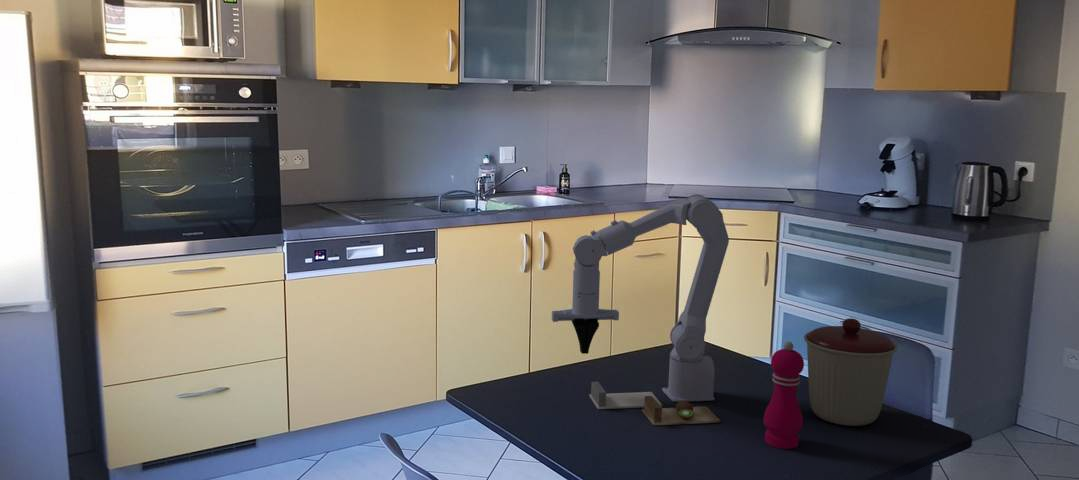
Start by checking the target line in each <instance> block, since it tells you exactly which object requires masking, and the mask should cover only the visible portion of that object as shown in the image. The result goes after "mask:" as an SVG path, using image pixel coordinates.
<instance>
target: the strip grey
mask: <svg viewBox="0 0 1079 480" xmlns="http://www.w3.org/2000/svg"><path fill="white" fill-rule="evenodd" d="M590 384H591V385H590V387H591V388H590V394H588V395H589V398H590V400H591V401H592V402H593V404H594V406H595V407H596V408H597V410H609V409H614V410H615V409H636V408H644V401H645V396H652V397H653V398H654V399H655V400H656V401H657V403H658V404H659V405H660V406H661V407H662V408H663V404H662V402H661V401H660V400H659V399H658V398H657V397H656V396H655V394H654V393H653V392H652V391H644V392H643V391H638V392H615V393H612V392H611V393H607V391H606V390H605V389H604V387H603V386H602V385H601V384H600V382H599V381H591V383H590Z"/></svg>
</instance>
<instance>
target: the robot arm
mask: <svg viewBox="0 0 1079 480" xmlns="http://www.w3.org/2000/svg"><path fill="white" fill-rule="evenodd" d="M687 222H689V224H691V225H692V226H693V227H694V228H695V229H696V231H697V233H698V234H699V236H700V237H701V239H702V241H703V245H702V246H701V247H702V248H701V251H700V255H699V258H698V262H697V265H696V268H695V273H694V274H693V275H694V276H693V278H692V282H691V285H690V288H689V292H688V295H687V299H686V302H685V306H684V309H683V311H682V312H681V314H680V315H679V317H678V321H677V322H676V323H675V325H674V326H673V327H672V328H671V330H670V332H669V339H670V341H671V344H672V345H673V348H672V350H671V351H670V352H669V366H668V367H669V368H668V369H669V370H668V386H667V387H662V388H661V391H662V392H663V393H664V394H665V395H666V396H667V398H669V400H670V401H672V403H678V402H680V401H686V402H704V401H705V402H706V401H708V402H709V401H711V402H712V401H715V397H714V387H715V373H716V371H715V363H714V360H713V358H712V357H711V356H709V355H704V353H705V350H706V342H705V335H706V332H707V331H706V330H707V316H708V314H709V309H710V306H711V303H712V299H713V298H714V297H713V296H714V293H715V289H716V286H717V283H718V280H719V276H720V274H721V269H722V267H723V263H724V260H725V256H726V253H727V249H728V247H729V243H730V237H729V235H728V231H727V227H726V225H725V221H724V214H723V212H722V211H721V209H719V208H718V206H717V204H715V203H714V202H713V201H712V200H710V199H708V198H707V197H706V196H704V195H702V194H698V193H697V194H691V195H689V196H688V197H686V198H680V199H677V200H675V201H672V202H671V203H668V204H666V205H664V206H662V207H659V208H658V209H656V210H654V211H652V212H650V213H648V214H646V215H644V216H642V217H639V218H638V219H636V220H633V221H631V222H628V221H625V220H619V221H617V220H616V219H614V220H612V221H611V222H610V225H608V226H606V227H603V228H602V229H599V230H597V231H595V230H594V229H593V230H591V231H590V232H589V233H590V234H589V235H587V234H585V235H580V236H579V237H578V238H577V239H576V241H575V242H574V244H573V247H572V250H573V255H574V257H575V258H574V262H573V268H574V269H573V272H572V273H573V274H572V275H573V279H572V306H571V307H572V308H571V309H570V308H569V309H562V310H551V321H552V322H553V323H556V322H557V323H558V322H567V321H568V322H569V321H571V323H572V325H573V328H574V330H575V333H576V335H577V339H578V346H579V352H580V353H581V354H583V355H585V354H589V351H590V347H591V343H592V341H593V338H594V336H595V334H596V332H597V331H598V329H599V327H600V322H599V321H602V320H605V321H606V320H607V321H608V320H609V321H611V320H613V321H619V320H620V319H619V318H620V311H619V310H617V309H606V308H605V309H604V308H600V305H599V304H600V284H601V283H600V281H601V271H600V261H601V259H602V257H608V256H610V255H614V253H617V252H619V251H622V250H624V249H626V248H628V247H630V246H632V245H634V243H635V241H636V238H637V237H638V236H642V235H644V234H646V233H650V232H651V231H655V230H656V229H659V228H662V227H664V226H667V225H669V224H677V225H682V226H687V224H688V223H687Z"/></svg>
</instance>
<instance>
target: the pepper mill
mask: <svg viewBox="0 0 1079 480" xmlns="http://www.w3.org/2000/svg"><path fill="white" fill-rule="evenodd" d="M770 367H771V369H772V371H774V372H773V373H772V378H771V380H772V382H773V384H774V388H773V394H772V396H771V399H770V401H769V403H768V405H767V406H766V409H765V411H764V414H763V424H764V426H765V427H766V429H767V430H766V431H765V433H764V442H765V443H766V444H767V445H769V446H771V447H773V448H777V449H781V450H790V449H796V448H797V447H798V446H799V443H800V435H799V434H798V433H799V432H800V431H801V430H802V429H803V425H804V421H803V420H804V419H803V413H802V411H801V408H800V405H799V401H798V397H797V396H798V395H797V390H798V385H800V384H801V381H800V380H801V376H800V374H801V373H802V372H803V370H804V367H805V361H804V357H803V356H802V354H800V353H799V352H798V351H796V350H794V344H793V343H792V342H791V341H786V342H785V343H784V344H783V348H782V349H778V350H777V351H775V352H774V353H773V354H772V356H771V358H770Z"/></svg>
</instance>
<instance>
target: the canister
mask: <svg viewBox="0 0 1079 480" xmlns="http://www.w3.org/2000/svg"><path fill="white" fill-rule="evenodd" d="M841 324H842V325H829V326H828V325H827V326H821V327H817V328H815V329H813V330H811V331H809V332H806V333H805V334H804V336H803V339H804V341H805V342H806V352H807V378H808V379H807V380H808V393H809V395H808V396H809V404H810V408H811V410H812V412H813V413H814V414H815V415H816V416H817V417H818V418H820V419H821V420H823V421H826V422H829V423H832V424H835V425H841V426H849V427H857V426H859V427H861V426H865V425H866V426H867V425H869V424H872V423H873V422H875V421H876V420H877V419H878V417H879V416H880V413H881V410H882V408H883V407H882V406H883V402H884V398H885V395H886V389H887V386H888V381H889V376H890V372H891V368H892V364H893V363H892V361H893V357H894V353H896V352H897V351H898V348H899V347H898V344H897V343H896V342H895V341H893V340H892V339H891V338H890V337H888V336H887V335H885V334H883V333H880V332H878V331H876V330H875V331H874V330H871V329H868V328H862V327H861V326H862V325H861V322H860V321H859V320H858V319H856V318H852V317H850V318H846V319H844V320H843V322H842V323H841Z"/></svg>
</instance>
